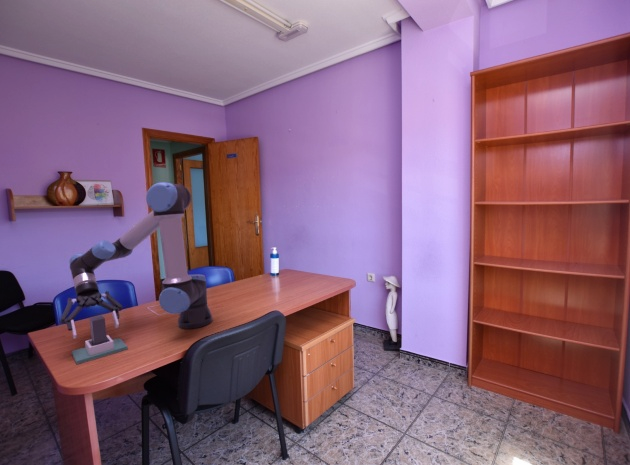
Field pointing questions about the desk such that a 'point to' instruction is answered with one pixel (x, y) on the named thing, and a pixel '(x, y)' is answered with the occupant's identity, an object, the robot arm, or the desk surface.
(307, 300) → the desk surface
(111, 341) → the board
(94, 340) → the block
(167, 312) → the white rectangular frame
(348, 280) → the desk surface
